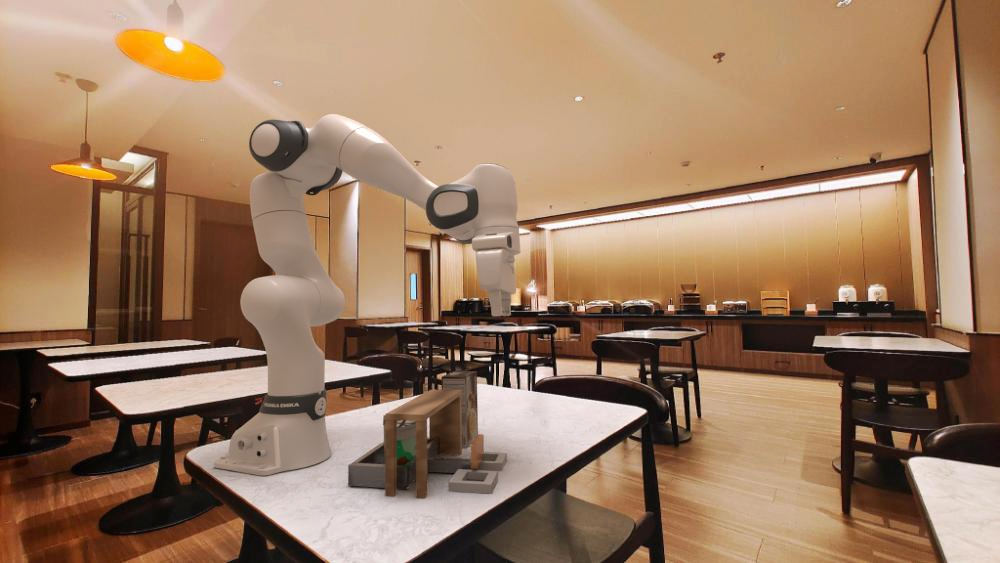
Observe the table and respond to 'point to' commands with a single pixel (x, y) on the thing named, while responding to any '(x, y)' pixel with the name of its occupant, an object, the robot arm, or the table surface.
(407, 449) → the food container
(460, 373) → the coffee box
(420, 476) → the brown wooden bench
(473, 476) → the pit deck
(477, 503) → the table surface
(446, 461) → the shallow grey tray
